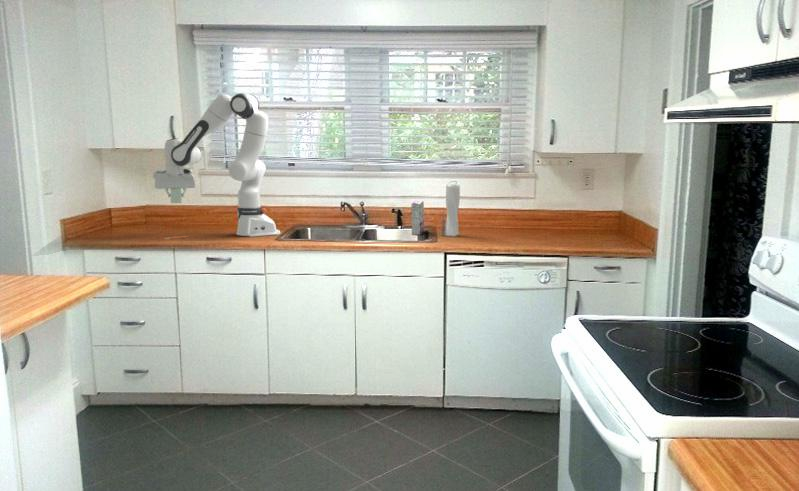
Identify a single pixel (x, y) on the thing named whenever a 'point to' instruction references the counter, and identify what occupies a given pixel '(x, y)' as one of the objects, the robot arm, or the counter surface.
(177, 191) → the sage block
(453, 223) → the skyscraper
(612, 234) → the counter surface
